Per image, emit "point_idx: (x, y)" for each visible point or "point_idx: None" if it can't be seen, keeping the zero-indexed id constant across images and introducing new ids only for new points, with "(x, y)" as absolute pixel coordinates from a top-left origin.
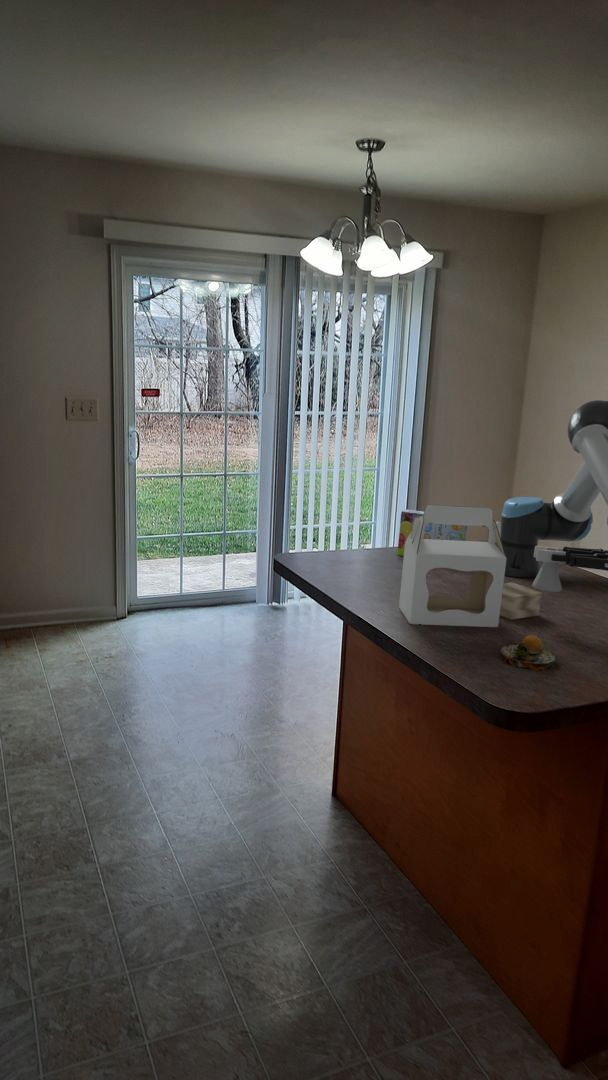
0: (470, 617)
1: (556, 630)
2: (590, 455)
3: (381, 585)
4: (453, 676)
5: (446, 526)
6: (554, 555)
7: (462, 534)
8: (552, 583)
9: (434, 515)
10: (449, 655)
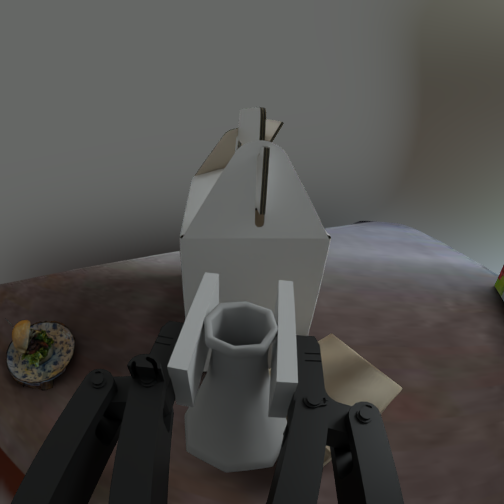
0: None
1: (190, 485)
2: None
3: (361, 267)
4: (38, 278)
5: None
6: (163, 326)
7: None
8: (192, 416)
9: (240, 126)
10: (82, 286)
